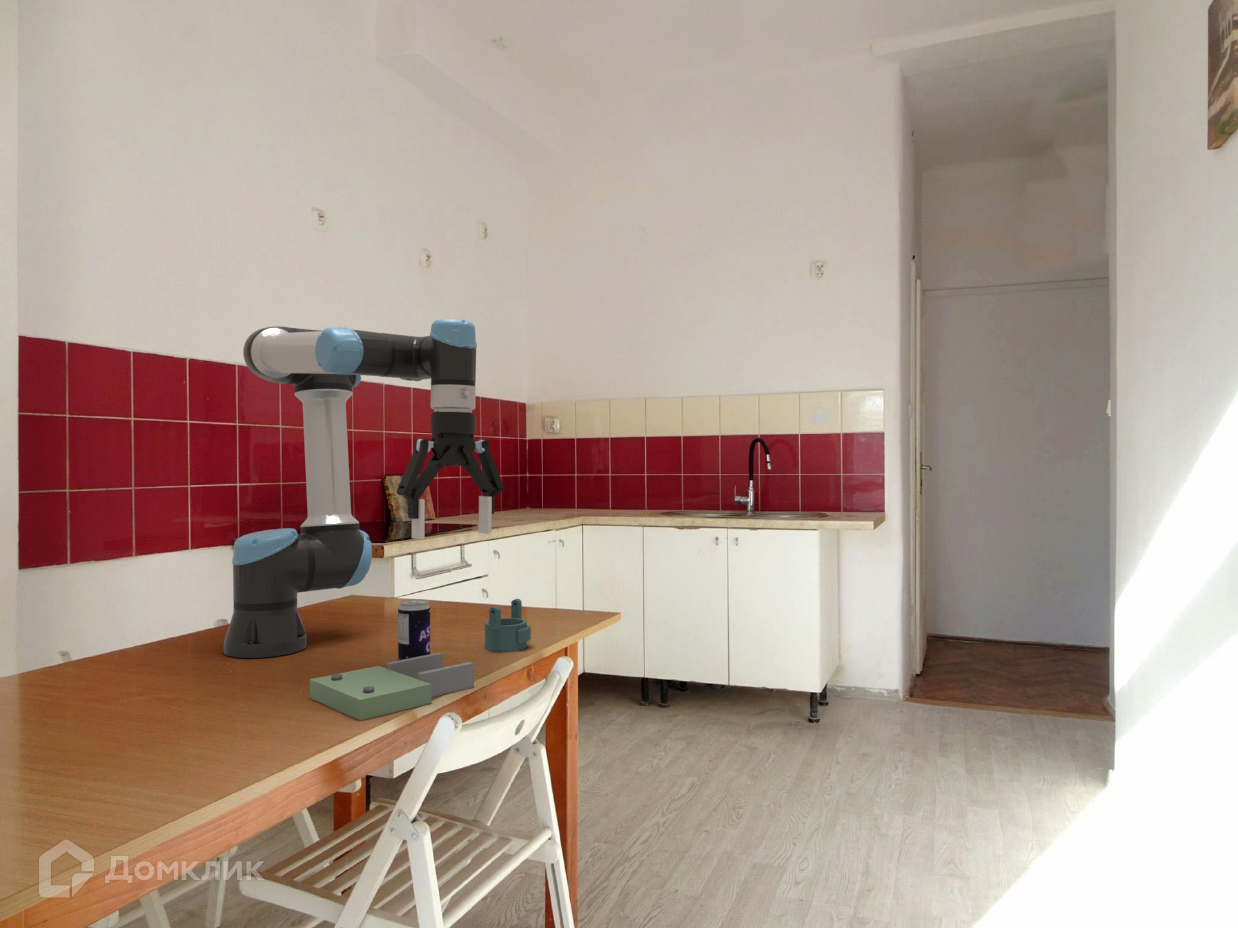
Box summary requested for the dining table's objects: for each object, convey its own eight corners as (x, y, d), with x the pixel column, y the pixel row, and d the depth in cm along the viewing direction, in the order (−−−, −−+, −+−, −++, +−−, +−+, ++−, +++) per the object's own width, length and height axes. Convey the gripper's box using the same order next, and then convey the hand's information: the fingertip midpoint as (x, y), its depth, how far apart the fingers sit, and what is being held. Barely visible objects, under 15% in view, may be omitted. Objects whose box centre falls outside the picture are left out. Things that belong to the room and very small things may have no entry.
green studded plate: (309, 698, 134) (309, 672, 134) (429, 672, 150) (429, 650, 149) (360, 720, 123) (360, 692, 123) (484, 690, 138) (484, 666, 138)
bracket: (489, 654, 164) (490, 608, 164) (480, 643, 172) (481, 599, 172) (535, 650, 167) (535, 605, 167) (524, 640, 176) (524, 597, 175)
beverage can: (422, 672, 150) (422, 604, 150) (392, 670, 151) (392, 603, 151) (435, 664, 155) (435, 599, 155) (406, 663, 156) (406, 598, 156)
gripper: (400, 407, 133) (399, 542, 133) (524, 413, 151) (523, 532, 151) (375, 409, 138) (375, 539, 138) (498, 414, 156) (497, 529, 156)
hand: (452, 536), depth 145 cm, fingers open, 13 cm apart
